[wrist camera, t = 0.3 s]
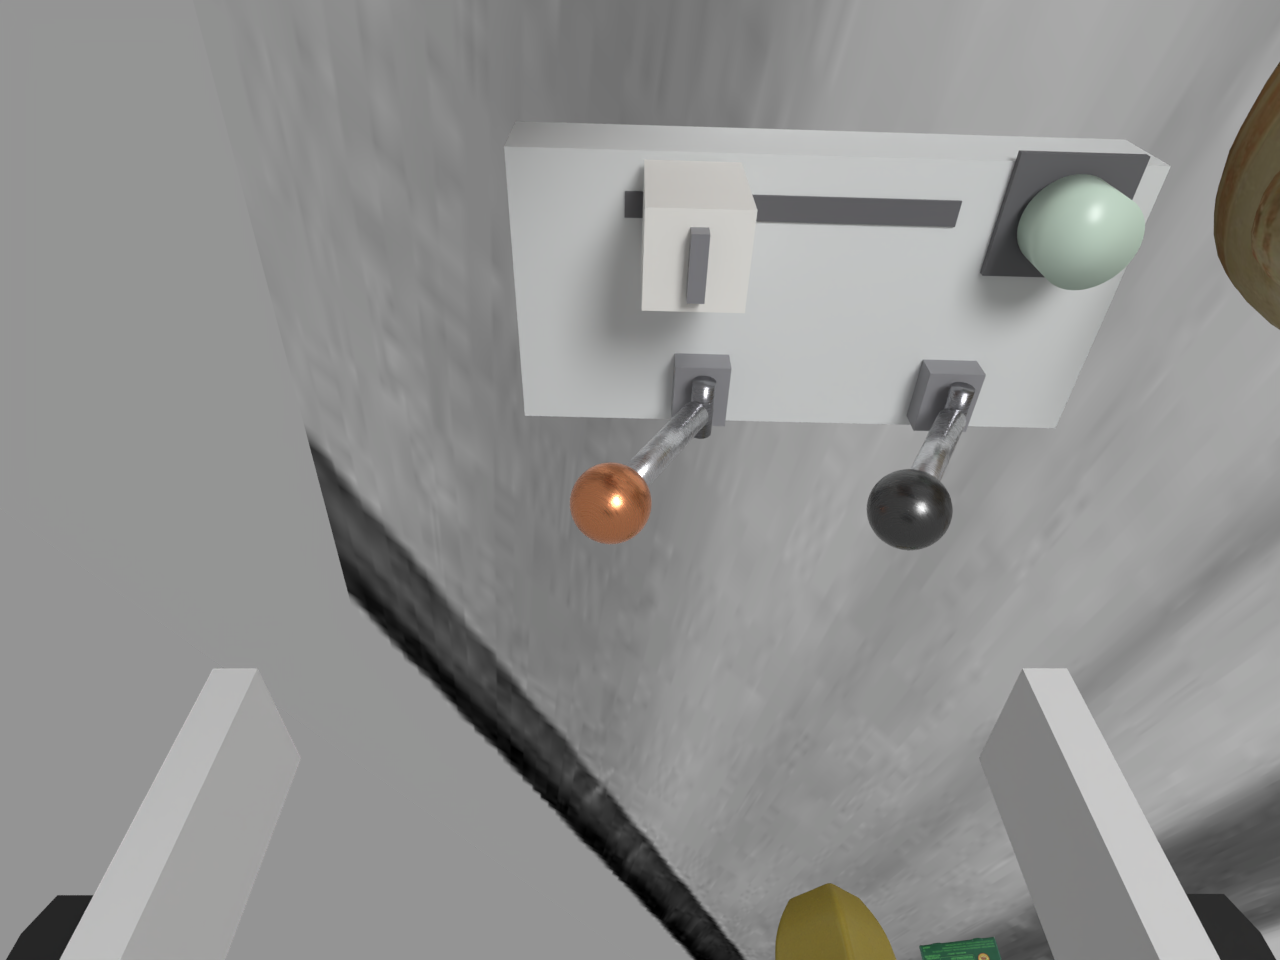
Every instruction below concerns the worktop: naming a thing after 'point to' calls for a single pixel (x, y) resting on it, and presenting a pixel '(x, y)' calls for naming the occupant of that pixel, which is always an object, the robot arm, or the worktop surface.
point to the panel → (808, 275)
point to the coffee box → (962, 950)
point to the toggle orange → (638, 474)
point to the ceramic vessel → (1253, 206)
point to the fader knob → (696, 236)
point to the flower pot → (830, 928)
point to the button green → (1080, 231)
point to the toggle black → (921, 483)
